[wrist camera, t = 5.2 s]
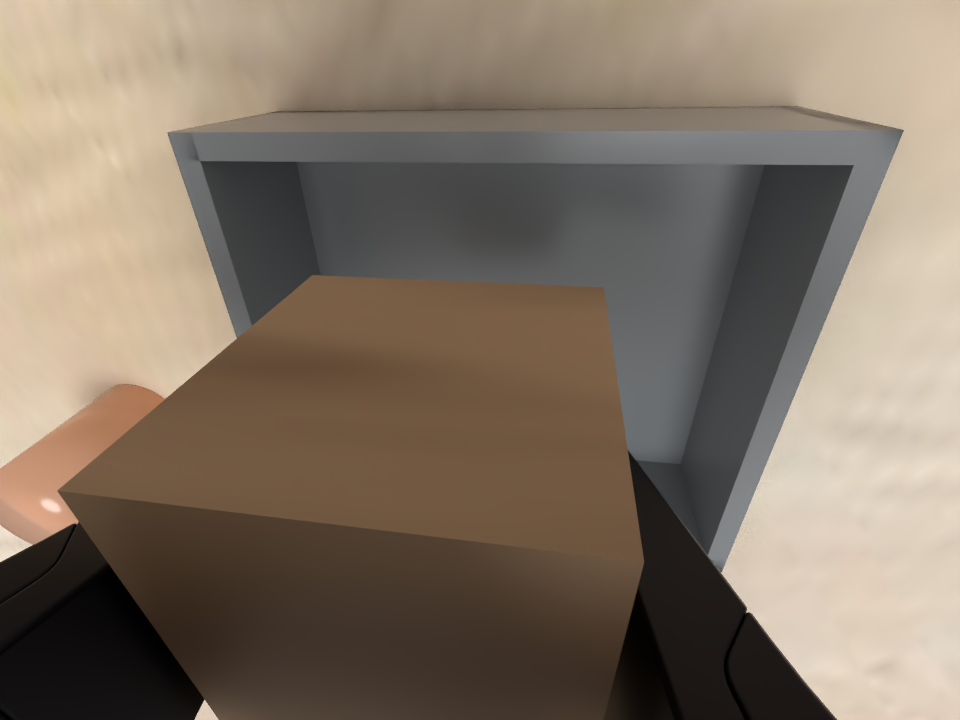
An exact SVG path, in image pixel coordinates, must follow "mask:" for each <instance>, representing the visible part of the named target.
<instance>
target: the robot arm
mask: <svg viewBox="0 0 960 720" xmlns="http://www.w3.org/2000/svg"><path fill="white" fill-rule="evenodd" d="M628 455H629V462H630V469H631V476H632V482H633V489H634V496H635V503H636V510H637V516H638V523H639V530H640V537H641V544H642V550H643V557H644V565H643V569H642V573H641V577H640V581H639V584H638V588H637V592H636V596H635V600H634V604H633V608H632V611H631V615H630V619H629V623H628V627H627V631H626V635H625V639H624V642H623V646H622V650H621V654H620V658H619V662H618V666H617V670H616V673H615V677H614V681H613V685H612V689H611V693H610V697H609V700H608V704H607V708H606V712H605V716H604V720H837V719H836V718H835V717H834V716H833V714H832V713H831V712H830V711H829V710H828V709H827V707H826V706H825V705H824V704H823V703H822V702H821V700H820V699H819V698H818V697H817V696H816V694H815V693H814V692H813V691H812V690H811V689H810V687H809V686H808V685H807V684H806V683H805V682H804V680H803V679H802V678H801V676H800V675H799V674H798V673H797V671H796V670H795V669H794V668H793V666H792V665H791V664H790V663H789V661H788V660H787V659H786V658H785V656H784V655H783V654H782V652H781V651H780V650H779V649H778V647H777V646H776V645H775V644H774V642H773V641H772V640H771V638H770V637H769V636H768V634H767V633H766V632H765V631H764V629H763V628H762V627H761V625H760V624H759V623H758V621H757V620H756V619H755V617H754V616H753V615H752V614H751V613H749V612H748V613H746V611H747V607H746V606H745V604H744V603H743V602H742V600H741V599H740V598H739V596H738V595H737V594H736V592H735V591H734V590H733V588H732V587H731V586H730V584H729V583H728V582H727V580H726V579H725V578H724V576H723V575H722V574H721V572H720V571H719V570H718V568H717V567H716V566H715V564H714V563H713V562H712V561H711V559H710V558H709V557H708V555H707V554H706V553H705V551H704V550H703V549H702V547H701V546H700V545H699V543H698V542H697V541H696V539H695V538H694V537H693V535H692V534H691V533H690V531H689V530H688V529H687V527H686V526H685V525H684V523H683V522H682V521H681V519H680V518H679V517H678V515H677V514H676V513H675V511H674V510H673V509H672V507H671V506H670V505H669V504H668V502H667V501H666V500H665V498H664V497H663V496H662V494H661V493H660V492H659V490H658V489H657V488H656V486H655V485H654V484H653V482H652V481H651V480H650V478H649V477H648V476H647V474H646V473H645V472H644V470H643V469H642V468H641V466H640V465H639V464H638V462H637V461H636V460H635V458H634V457H633V456H632V454H631V453H630V452H629V450H628ZM203 701H204V698H203V696H202V695H201V693H200V692H199V691H198V689H197V688H196V686H195V685H194V684H193V682H192V681H191V679H190V678H189V676H188V675H187V674H186V672H185V671H184V669H183V668H182V667H181V665H180V664H179V662H178V661H177V660H176V658H175V657H174V655H173V654H172V652H171V651H170V650H169V648H168V647H167V645H166V644H165V643H164V641H163V640H162V638H161V637H160V636H159V634H158V633H157V631H156V630H155V628H154V627H153V626H152V624H151V623H150V621H149V620H148V619H147V617H146V616H145V614H144V613H143V612H142V610H141V609H140V607H139V606H138V604H137V603H136V602H135V600H134V599H133V597H132V596H131V595H130V593H129V592H128V590H127V589H126V588H125V586H124V585H123V583H122V582H121V580H120V579H119V578H118V576H117V575H116V573H115V572H114V571H113V569H112V568H111V566H110V565H109V564H108V562H107V561H106V559H105V558H104V556H103V555H102V554H101V552H100V551H99V549H98V548H97V547H96V545H95V544H94V542H93V541H92V540H91V538H90V537H89V535H88V534H87V532H86V531H85V530H84V528H83V527H82V525H81V524H80V523H79V522H78V523H77V524H76V523H73V524H71V525H69V526H67V527H66V528H64V529H62V530H60V531H58V532H56V533H55V534H53V535H51V536H49V537H47V538H45V539H44V540H42V541H40V542H38V543H36V544H34V545H32V546H30V547H28V548H26V549H25V550H23V551H21V552H19V553H17V554H15V555H13V556H11V557H9V558H7V559H6V560H4V561H2V562H0V720H194V719H195V717H196V715H197V713H198V711H199V709H200V707H201V705H202V703H203Z"/></svg>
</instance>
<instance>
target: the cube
mask: <svg viewBox="0 0 960 720" xmlns="http://www.w3.org/2000/svg"><path fill="white" fill-rule="evenodd" d="M57 492H58V493H59V494H60V496H61V497H62V499H63V500H64V501H65V503H66V504H67V506H68V507H69V508H70V510H71V511H72V513H73V514H74V516H75V517H76V518H77V520H78V521H79V523H80V524H81V525H82V527H83V528H84V530H85V531H86V532H87V534H88V535H89V537H90V538H91V540H92V541H93V542H94V544H95V545H96V547H97V548H98V549H99V551H100V552H101V554H102V555H103V556H104V558H105V559H106V561H107V562H108V564H109V565H110V566H111V568H112V569H113V571H114V572H115V573H116V575H117V576H118V578H119V579H120V580H121V582H122V583H123V585H124V586H125V588H126V589H127V590H128V592H129V593H130V595H131V596H132V597H133V599H134V600H135V602H136V603H137V604H138V606H139V607H140V609H141V610H142V612H143V613H144V614H145V616H146V617H147V619H148V620H149V621H150V623H151V624H152V626H153V627H154V628H155V630H156V631H157V633H158V634H159V636H160V637H161V638H162V640H163V641H164V643H165V644H166V645H167V647H168V648H169V650H170V651H171V652H172V654H173V655H174V657H175V658H176V660H177V661H178V662H179V664H180V665H181V667H182V668H183V669H184V671H185V672H186V674H187V675H188V676H189V678H190V679H191V681H192V682H193V684H194V685H195V686H196V688H197V689H198V691H199V692H200V693H201V695H202V696H203V698H204V699H205V700H206V702H207V703H208V705H209V706H210V708H211V709H212V710H213V712H214V713H215V715H216V716H217V717H218V719H219V720H604V716H605V712H606V708H607V704H608V700H609V697H610V693H611V689H612V685H613V681H614V677H615V673H616V670H617V666H618V662H619V658H620V654H621V650H622V646H623V642H624V639H625V635H626V631H627V627H628V623H629V619H630V615H631V611H632V608H633V604H634V600H635V596H636V592H637V588H638V584H639V581H640V577H641V573H642V569H643V565H644V557H643V550H642V544H641V537H640V530H639V523H638V516H637V510H636V503H635V496H634V489H633V482H632V476H631V469H630V462H629V455H628V448H627V442H626V435H625V428H624V421H623V414H622V408H621V401H620V394H619V387H618V380H617V374H616V367H615V360H614V353H613V347H612V340H611V333H610V326H609V319H608V313H607V306H606V299H605V292H604V287H586V286H562V285H538V284H513V283H489V282H465V281H441V280H416V279H392V278H368V277H344V276H319V275H312V276H311V277H310V278H308V279H307V280H306V281H305V282H304V283H302V284H301V285H300V286H299V287H298V288H297V289H295V290H294V291H293V292H292V293H291V294H289V295H288V296H287V297H286V298H285V299H283V300H282V301H281V302H280V303H279V304H278V305H276V306H275V307H274V308H273V309H272V310H270V311H269V312H268V313H267V314H266V315H265V316H263V317H262V318H261V319H260V320H259V321H257V322H256V323H255V324H254V325H253V326H251V327H250V328H249V329H248V330H247V331H246V332H244V333H243V334H242V335H241V336H240V337H238V338H237V339H236V340H235V341H234V342H233V343H231V344H230V345H229V346H228V347H227V348H225V349H224V350H223V351H222V352H221V353H220V354H218V355H217V356H216V357H215V358H214V359H212V360H211V361H210V362H209V363H208V364H206V365H205V366H204V367H203V368H202V369H201V370H199V371H198V372H197V373H196V374H195V375H193V376H192V377H191V378H190V379H189V380H188V381H186V382H185V383H184V384H183V385H182V386H180V387H179V388H178V389H177V390H176V391H174V392H173V393H172V394H171V395H170V396H169V397H167V398H166V399H165V400H164V401H163V402H161V403H160V404H159V405H158V406H157V407H156V408H154V409H153V410H152V411H151V412H150V413H148V414H147V415H146V416H145V417H144V418H143V419H141V420H140V421H139V422H138V423H137V424H135V425H134V426H133V427H132V428H131V429H129V430H128V431H127V432H126V433H125V434H124V435H122V436H121V437H120V438H119V439H118V440H116V441H115V442H114V443H113V444H112V445H111V446H109V447H108V448H107V449H106V450H105V451H103V452H102V453H101V454H100V455H99V456H98V457H96V458H95V459H94V460H93V461H92V462H90V463H89V464H88V465H87V466H86V467H84V468H83V469H82V470H81V471H80V472H79V473H77V474H76V475H75V476H74V477H73V478H71V479H70V480H69V481H68V482H67V483H66V484H64V485H63V486H62V487H61V488H60V489H58V490H57Z"/></svg>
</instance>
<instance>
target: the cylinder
mask: <svg viewBox="0 0 960 720" xmlns="http://www.w3.org/2000/svg"><path fill="white" fill-rule="evenodd" d="M164 400H165V399H164V398H163V397H161V396H160V395H158V394H156V393H154V392H152V391H150V390H148V389H146V388H143V387H140V386H136V385H129V384H123V385H117V386H114V387H112V388H111V389H109V390H108V391H107V392H105V393H104V394H102V395H101V396H100V397H98V398H97V399H96V400H94V401H93V402H91V403H90V404H89V405H87V406H86V407H85V408H83V409H82V410H80V411H79V412H78V413H76V414H75V415H74V416H72V417H71V418H69V419H68V420H67V421H65V422H64V423H63V424H61V425H60V426H58V427H57V428H56V429H54V430H53V431H52V432H50V433H49V434H47V435H46V436H45V437H43V438H42V439H41V440H39V441H38V442H36V443H35V444H34V445H32V446H31V447H30V448H28V449H27V450H25V451H24V452H23V453H21V454H20V455H19V456H17V457H16V458H14V459H13V460H12V461H10V462H9V463H8V464H6V465H5V466H3V467H2V468H1V469H0V525H1V526H3V527H4V528H5V529H7V530H8V531H10V532H11V533H13V534H14V535H16V536H17V537H19V538H21V539H23V540H25V541H27V542H29V543H31V544H33V545H34V544H36V543H38V542H40V541H42V540H44V539H45V538H47V537H49V536H51V535H53V534H55V533H56V532H58V531H60V530H62V529H64V528H66V527H67V526H69V525H71V524H73V523H76V524H77V523H78V522H79V521H78V520H77V518H76V517H75V516H74V514H73V513H72V511H71V510H70V508H69V507H68V506H67V504H66V503H65V501H64V500H63V499H62V497H61V496H60V494H59V493H58V492H57V490H58V489H60V488H61V487H62V486H63V485H64V484H66V483H67V482H68V481H69V480H70V479H71V478H73V477H74V476H75V475H76V474H77V473H79V472H80V471H81V470H82V469H83V468H84V467H86V466H87V465H88V464H89V463H90V462H92V461H93V460H94V459H95V458H96V457H98V456H99V455H100V454H101V453H102V452H103V451H105V450H106V449H107V448H108V447H109V446H111V445H112V444H113V443H114V442H115V441H116V440H118V439H119V438H120V437H121V436H122V435H124V434H125V433H126V432H127V431H128V430H129V429H131V428H132V427H133V426H134V425H135V424H137V423H138V422H139V421H140V420H141V419H143V418H144V417H145V416H146V415H147V414H148V413H150V412H151V411H152V410H153V409H154V408H156V407H157V406H158V405H159V404H160V403H161V402H163V401H164Z"/></svg>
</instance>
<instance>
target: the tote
mask: <svg viewBox="0 0 960 720" xmlns="http://www.w3.org/2000/svg"><path fill="white" fill-rule="evenodd" d="M903 131H904V130H901V129H896V128H892V127H887V126H883V125H879V124H874V123H870V122H865V121H861V120H856V119H852V118H847V117H843V116H838V115H834V114H829V113H825V112H820V111H816V110H812V109H807V108H803V107H798V106H794V107H694V108H593V109H493V110H393V111H293V112H272V113H267V114H261V115H256V116H251V117H246V118H241V119H235V120H230V121H225V122H220V123H215V124H209V125H204V126H199V127H194V128H188V129H183V130H178V131H173V132H168V136H169V139H170V142H171V145H172V148H173V151H174V154H175V157H176V160H177V163H178V166H179V169H180V172H181V175H182V177H183V180H184V183H185V186H186V189H187V192H188V195H189V198H190V201H191V204H192V207H193V210H194V213H195V216H196V219H197V222H198V225H199V228H200V231H201V233H202V236H203V239H204V242H205V245H206V248H207V251H208V254H209V257H210V260H211V263H212V266H213V269H214V272H215V275H216V278H217V281H218V284H219V286H220V289H221V292H222V295H223V298H224V301H225V304H226V307H227V310H228V313H229V316H230V319H231V322H232V325H233V328H234V331H235V334H236V337H237V338H238V337H240V336H241V335H242V334H243V333H244V332H246V331H247V330H248V329H249V328H250V327H251V326H253V325H254V324H255V323H256V322H257V321H259V320H260V319H261V318H262V317H263V316H265V315H266V314H267V313H268V312H269V311H270V310H272V309H273V308H274V307H275V306H276V305H278V304H279V303H280V302H281V301H282V300H283V299H285V298H286V297H287V296H288V295H289V294H291V293H292V292H293V291H294V290H295V289H297V288H298V287H299V286H300V285H301V284H302V283H304V282H305V281H306V280H307V279H308V278H310V277H311V276H312V275H319V276H344V277H368V278H392V279H416V280H441V281H465V282H489V283H513V284H538V285H562V286H586V287H604V292H605V299H606V306H607V313H608V319H609V326H610V333H611V340H612V347H613V353H614V360H615V367H616V374H617V380H618V387H619V394H620V401H621V408H622V414H623V421H624V428H625V435H626V442H627V448H628V450H629V452H630V453H631V454H632V456H633V457H634V458H635V460H636V461H637V462H638V464H639V465H640V466H641V468H642V469H643V470H644V472H645V473H646V474H647V476H648V477H649V478H650V480H651V481H652V482H653V484H654V485H655V486H656V488H657V489H658V490H659V492H660V493H661V494H662V496H663V497H664V498H665V500H666V501H667V502H668V504H669V505H670V506H671V507H672V509H673V510H674V511H675V513H676V514H677V515H678V517H679V518H680V519H681V521H682V522H683V523H684V525H685V526H686V527H687V529H688V530H689V531H690V533H691V534H692V535H693V537H694V538H695V539H696V541H697V542H698V543H699V545H700V546H701V547H702V549H703V550H704V551H705V553H706V554H707V555H708V557H709V558H710V559H711V561H712V562H713V563H714V564H715V566H716V567H717V568H718V570H719V571H720V572H722V570H723V568H724V565H725V563H726V560H727V558H728V555H729V553H730V551H731V548H732V546H733V543H734V541H735V538H736V536H737V534H738V531H739V529H740V526H741V524H742V521H743V519H744V517H745V514H746V512H747V509H748V507H749V504H750V502H751V500H752V497H753V495H754V492H755V490H756V487H757V485H758V483H759V480H760V478H761V475H762V473H763V470H764V468H765V466H766V463H767V461H768V458H769V456H770V453H771V451H772V449H773V446H774V444H775V441H776V439H777V437H778V434H779V432H780V429H781V427H782V424H783V422H784V420H785V417H786V415H787V412H788V410H789V407H790V405H791V403H792V400H793V398H794V395H795V393H796V390H797V388H798V386H799V383H800V381H801V378H802V376H803V373H804V371H805V369H806V366H807V364H808V361H809V359H810V356H811V354H812V352H813V349H814V347H815V344H816V342H817V339H818V337H819V335H820V332H821V330H822V327H823V325H824V322H825V320H826V318H827V315H828V313H829V310H830V308H831V305H832V303H833V301H834V298H835V296H836V293H837V291H838V288H839V286H840V284H841V281H842V279H843V276H844V274H845V271H846V269H847V267H848V264H849V262H850V259H851V257H852V255H853V252H854V250H855V247H856V245H857V242H858V240H859V238H860V235H861V233H862V230H863V228H864V225H865V223H866V221H867V218H868V216H869V213H870V211H871V208H872V206H873V204H874V201H875V199H876V196H877V194H878V191H879V189H880V187H881V184H882V182H883V179H884V177H885V174H886V172H887V170H888V167H889V165H890V162H891V160H892V157H893V155H894V153H895V150H896V148H897V145H898V143H899V140H900V138H901V136H902V133H903Z"/></svg>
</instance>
